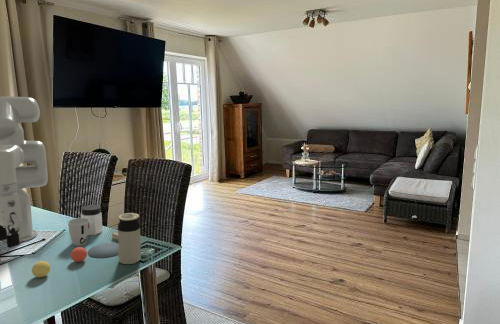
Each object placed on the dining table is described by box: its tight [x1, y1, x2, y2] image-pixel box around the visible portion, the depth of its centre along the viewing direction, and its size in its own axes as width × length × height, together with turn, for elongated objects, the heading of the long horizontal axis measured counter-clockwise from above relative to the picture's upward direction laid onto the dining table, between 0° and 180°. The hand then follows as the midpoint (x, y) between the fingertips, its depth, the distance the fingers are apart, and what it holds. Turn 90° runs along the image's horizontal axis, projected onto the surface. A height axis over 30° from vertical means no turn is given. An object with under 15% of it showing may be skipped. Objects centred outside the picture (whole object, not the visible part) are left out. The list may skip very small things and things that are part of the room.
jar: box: [80, 204, 103, 236], centre depth 159 cm, size 9×8×12 cm
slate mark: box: [87, 242, 119, 259], centre depth 142 cm, size 14×14×1 cm
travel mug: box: [117, 212, 142, 265], centre depth 132 cm, size 8×8×18 cm
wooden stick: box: [111, 231, 142, 247], centre depth 150 cm, size 2×16×2 cm, turn 59°
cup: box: [67, 217, 89, 247], centre depth 146 cm, size 8×8×10 cm
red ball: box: [70, 246, 88, 263], centre depth 131 cm, size 6×6×6 cm
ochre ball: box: [31, 260, 51, 278], centre depth 119 cm, size 6×6×6 cm
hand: (7, 242), depth 109 cm, fingers open, 6 cm apart
